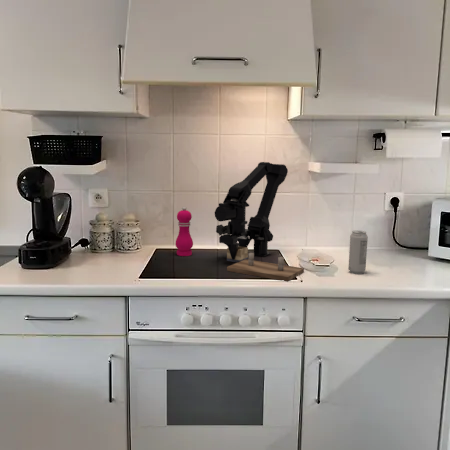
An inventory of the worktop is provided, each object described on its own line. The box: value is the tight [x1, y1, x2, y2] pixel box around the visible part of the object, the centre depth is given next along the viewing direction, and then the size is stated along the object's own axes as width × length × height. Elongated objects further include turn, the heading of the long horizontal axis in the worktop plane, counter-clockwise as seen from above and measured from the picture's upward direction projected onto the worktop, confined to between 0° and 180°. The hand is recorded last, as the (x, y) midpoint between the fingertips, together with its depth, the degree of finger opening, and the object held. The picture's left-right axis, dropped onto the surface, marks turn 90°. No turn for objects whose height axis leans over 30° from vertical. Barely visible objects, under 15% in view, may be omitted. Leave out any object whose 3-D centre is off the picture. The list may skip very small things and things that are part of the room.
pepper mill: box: [175, 206, 194, 257], centre depth 201 cm, size 7×7×20 cm
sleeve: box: [226, 246, 249, 263], centre depth 193 cm, size 6×6×5 cm
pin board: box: [226, 252, 305, 282], centre depth 177 cm, size 14×24×6 cm, turn 58°
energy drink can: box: [348, 230, 368, 275], centre depth 177 cm, size 6×6×15 cm
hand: (237, 257), depth 194 cm, fingers closed on sleeve, 6 cm apart
